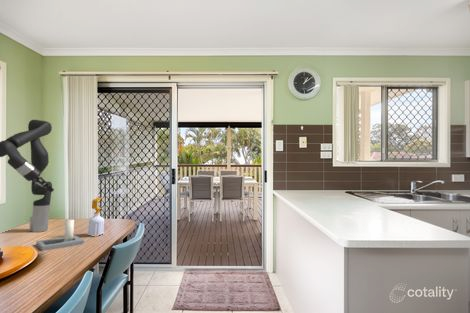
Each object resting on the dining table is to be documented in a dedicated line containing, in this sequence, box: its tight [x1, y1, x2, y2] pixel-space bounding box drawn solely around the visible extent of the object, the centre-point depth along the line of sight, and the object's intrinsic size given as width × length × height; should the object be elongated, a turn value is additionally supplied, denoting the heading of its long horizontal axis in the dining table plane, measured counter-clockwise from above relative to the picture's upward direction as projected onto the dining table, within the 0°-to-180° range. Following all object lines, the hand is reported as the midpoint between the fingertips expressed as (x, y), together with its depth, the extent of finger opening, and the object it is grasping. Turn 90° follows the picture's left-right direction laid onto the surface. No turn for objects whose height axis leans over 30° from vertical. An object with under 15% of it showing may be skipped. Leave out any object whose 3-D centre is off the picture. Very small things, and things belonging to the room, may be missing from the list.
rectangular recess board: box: [35, 235, 85, 252], centre depth 149 cm, size 20×14×2 cm
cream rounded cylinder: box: [63, 219, 75, 242], centre depth 152 cm, size 4×4×13 cm
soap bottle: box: [87, 197, 105, 236], centre depth 171 cm, size 9×9×25 cm
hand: (50, 190), depth 154 cm, fingers open, 8 cm apart
